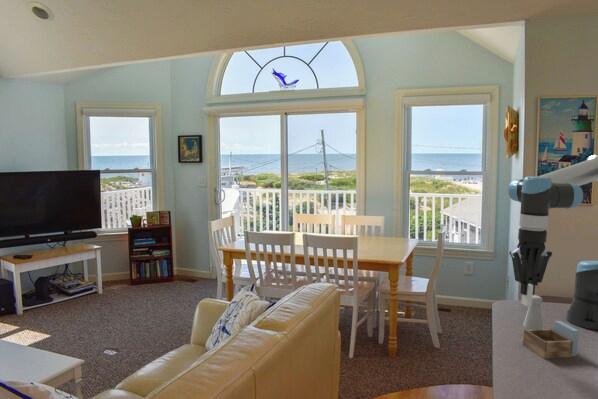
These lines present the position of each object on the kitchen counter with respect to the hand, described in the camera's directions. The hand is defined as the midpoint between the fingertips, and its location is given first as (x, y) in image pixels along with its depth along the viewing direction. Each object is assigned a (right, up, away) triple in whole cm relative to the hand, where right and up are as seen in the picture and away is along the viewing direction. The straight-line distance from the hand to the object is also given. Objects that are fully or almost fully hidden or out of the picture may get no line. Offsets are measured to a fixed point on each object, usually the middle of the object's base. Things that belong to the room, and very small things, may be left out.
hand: (526, 304), depth 139 cm
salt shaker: (+11, -14, +17) cm, 24 cm away
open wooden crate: (+8, -15, +3) cm, 17 cm away
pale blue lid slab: (+14, -15, +4) cm, 21 cm away
